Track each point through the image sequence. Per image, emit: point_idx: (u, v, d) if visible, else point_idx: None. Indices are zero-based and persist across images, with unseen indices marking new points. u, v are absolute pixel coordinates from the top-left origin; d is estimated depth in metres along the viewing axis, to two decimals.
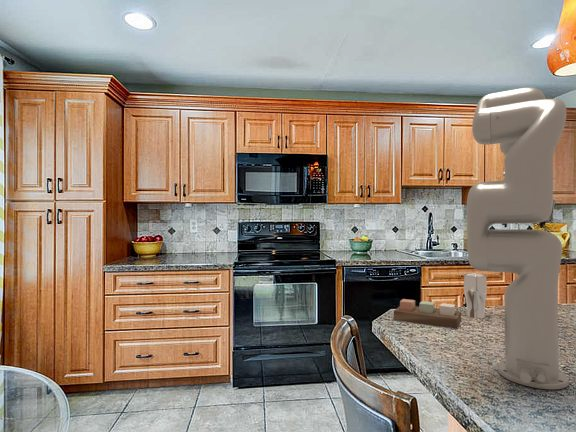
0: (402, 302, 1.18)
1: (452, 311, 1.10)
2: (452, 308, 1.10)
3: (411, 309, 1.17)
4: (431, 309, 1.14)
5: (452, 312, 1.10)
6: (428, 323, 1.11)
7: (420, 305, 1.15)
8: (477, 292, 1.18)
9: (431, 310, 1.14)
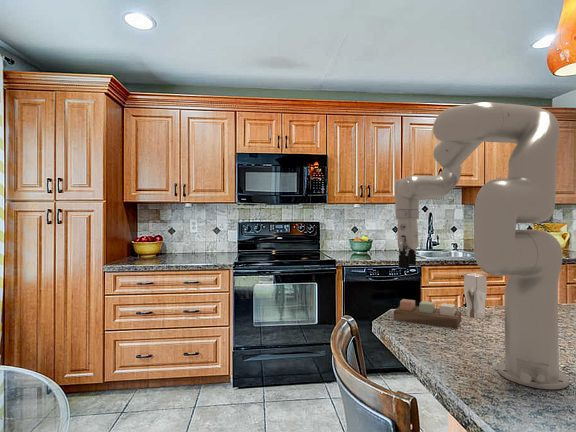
0: (402, 302, 1.18)
1: (452, 311, 1.10)
2: (452, 308, 1.10)
3: (411, 309, 1.17)
4: (431, 309, 1.14)
5: (452, 312, 1.10)
6: (428, 323, 1.11)
7: (420, 305, 1.15)
8: (477, 292, 1.18)
9: (431, 310, 1.14)
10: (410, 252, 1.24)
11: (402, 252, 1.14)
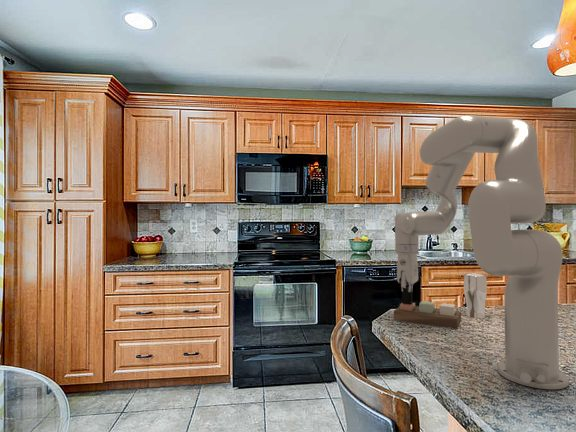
0: (402, 305, 1.18)
1: (452, 311, 1.10)
2: (452, 308, 1.10)
3: None
4: (431, 309, 1.14)
5: (452, 312, 1.10)
6: (428, 323, 1.11)
7: (420, 305, 1.15)
8: (477, 292, 1.18)
9: (431, 310, 1.14)
10: None
11: (405, 289, 1.17)
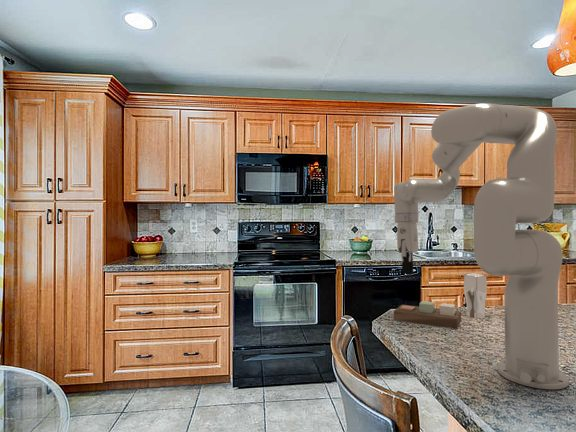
0: (402, 309, 1.18)
1: (452, 311, 1.10)
2: (452, 308, 1.10)
3: None
4: (431, 309, 1.14)
5: (452, 312, 1.10)
6: (428, 323, 1.11)
7: (420, 305, 1.15)
8: (477, 292, 1.18)
9: (431, 310, 1.14)
10: None
11: (405, 258, 1.17)
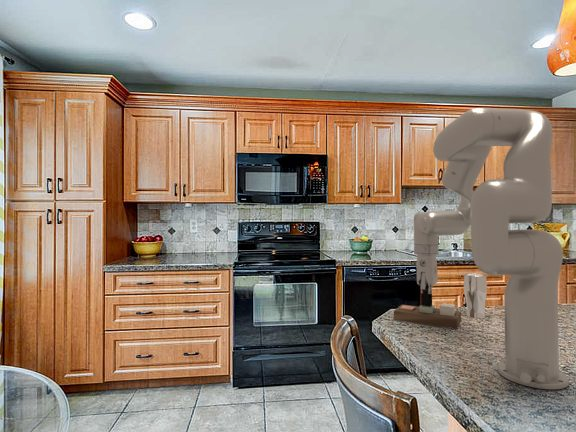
0: (402, 309, 1.18)
1: (452, 311, 1.10)
2: (452, 308, 1.10)
3: None
4: (431, 312, 1.14)
5: (452, 312, 1.10)
6: (428, 323, 1.11)
7: (420, 308, 1.15)
8: (477, 292, 1.18)
9: None
10: None
11: (425, 291, 1.14)
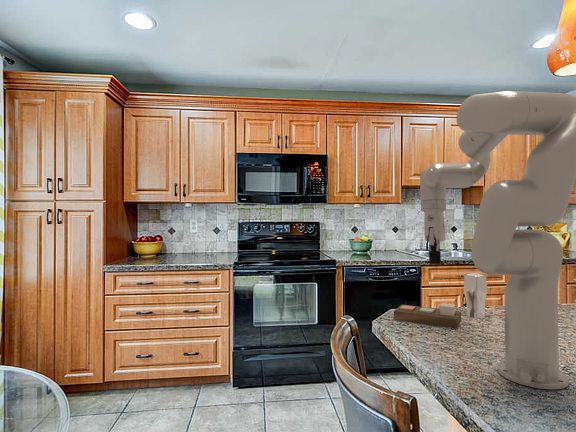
0: (402, 309, 1.18)
1: (452, 311, 1.10)
2: (452, 308, 1.10)
3: None
4: None
5: (452, 312, 1.10)
6: (428, 323, 1.11)
7: None
8: (477, 292, 1.18)
9: None
10: None
11: (433, 247, 1.11)
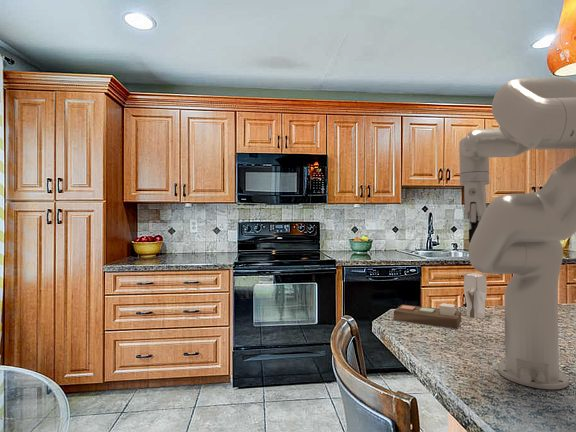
0: (402, 309, 1.18)
1: (452, 311, 1.10)
2: (452, 308, 1.10)
3: None
4: None
5: (452, 312, 1.10)
6: (428, 323, 1.11)
7: None
8: (477, 292, 1.18)
9: None
10: None
11: (474, 225, 0.99)
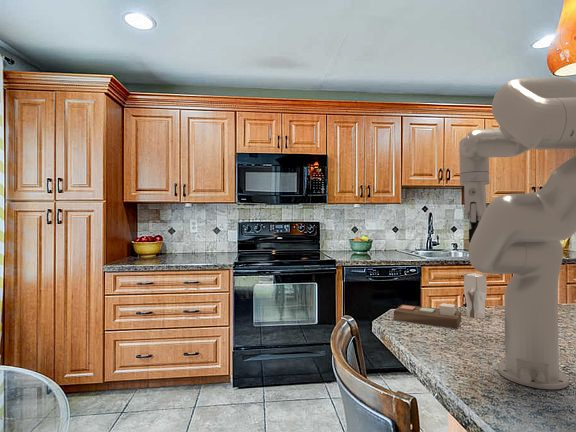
0: (402, 309, 1.18)
1: (452, 311, 1.10)
2: (452, 308, 1.10)
3: None
4: None
5: (452, 312, 1.10)
6: (428, 323, 1.11)
7: None
8: (477, 292, 1.18)
9: None
10: None
11: (474, 225, 0.99)
